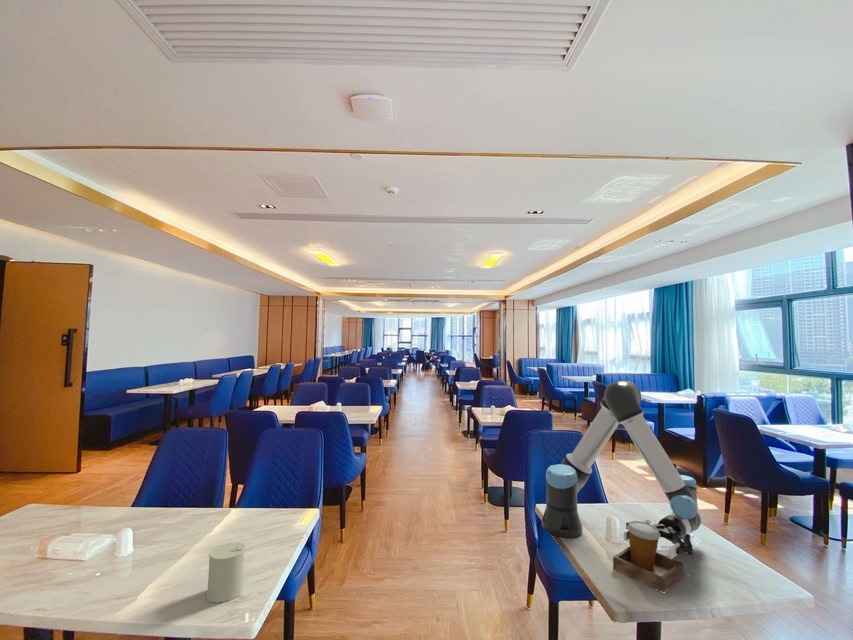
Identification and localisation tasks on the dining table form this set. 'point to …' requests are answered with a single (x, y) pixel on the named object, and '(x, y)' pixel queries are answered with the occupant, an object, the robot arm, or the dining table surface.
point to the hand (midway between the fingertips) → (646, 544)
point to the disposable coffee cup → (643, 543)
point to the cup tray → (657, 578)
